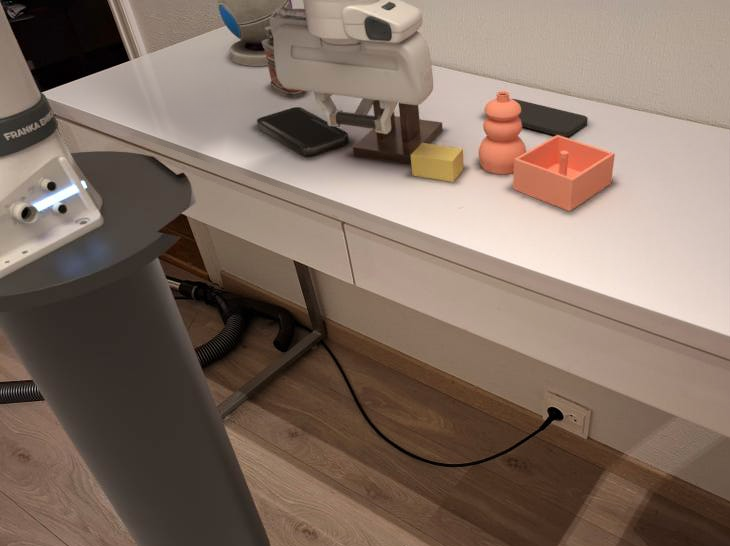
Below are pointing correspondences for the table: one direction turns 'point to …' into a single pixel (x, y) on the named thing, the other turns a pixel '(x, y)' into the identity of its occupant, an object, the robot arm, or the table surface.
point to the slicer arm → (358, 116)
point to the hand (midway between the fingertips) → (360, 128)
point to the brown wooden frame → (398, 136)
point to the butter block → (437, 162)
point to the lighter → (275, 84)
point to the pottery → (542, 159)
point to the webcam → (249, 27)
